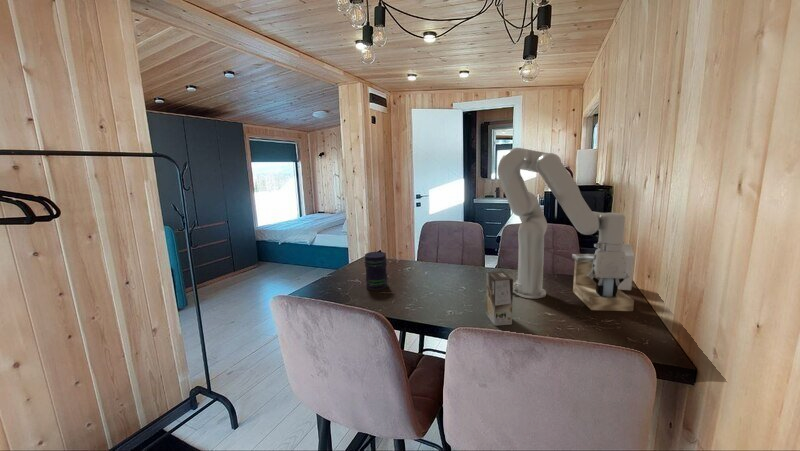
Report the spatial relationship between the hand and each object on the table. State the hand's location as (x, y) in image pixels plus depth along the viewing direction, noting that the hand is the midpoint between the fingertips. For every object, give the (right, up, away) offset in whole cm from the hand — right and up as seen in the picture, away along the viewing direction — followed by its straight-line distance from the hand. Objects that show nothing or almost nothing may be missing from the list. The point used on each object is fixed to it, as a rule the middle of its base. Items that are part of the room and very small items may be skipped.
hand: (606, 294), depth 123 cm
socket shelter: (+1, -4, +5) cm, 6 cm away
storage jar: (-88, -2, +29) cm, 92 cm away
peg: (0, -2, 0) cm, 2 cm away
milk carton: (+16, -1, +17) cm, 23 cm away
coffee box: (-42, -7, -8) cm, 44 cm away
